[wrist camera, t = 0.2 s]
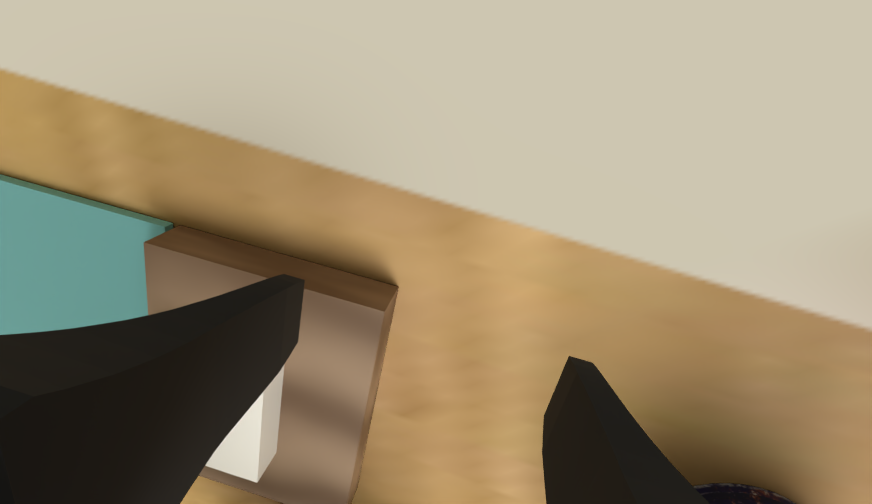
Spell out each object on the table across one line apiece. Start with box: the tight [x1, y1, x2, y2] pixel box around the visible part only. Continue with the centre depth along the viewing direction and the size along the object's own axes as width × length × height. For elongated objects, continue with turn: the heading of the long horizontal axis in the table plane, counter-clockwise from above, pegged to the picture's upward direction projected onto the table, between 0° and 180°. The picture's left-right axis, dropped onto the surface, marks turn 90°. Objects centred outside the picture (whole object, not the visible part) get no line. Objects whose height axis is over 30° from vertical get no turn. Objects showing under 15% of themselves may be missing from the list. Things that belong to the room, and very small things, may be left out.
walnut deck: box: [144, 225, 398, 504], centre depth 25 cm, size 15×12×2 cm
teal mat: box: [0, 174, 173, 335], centre depth 27 cm, size 15×14×1 cm
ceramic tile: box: [205, 366, 284, 483], centre depth 23 cm, size 7×6×2 cm
